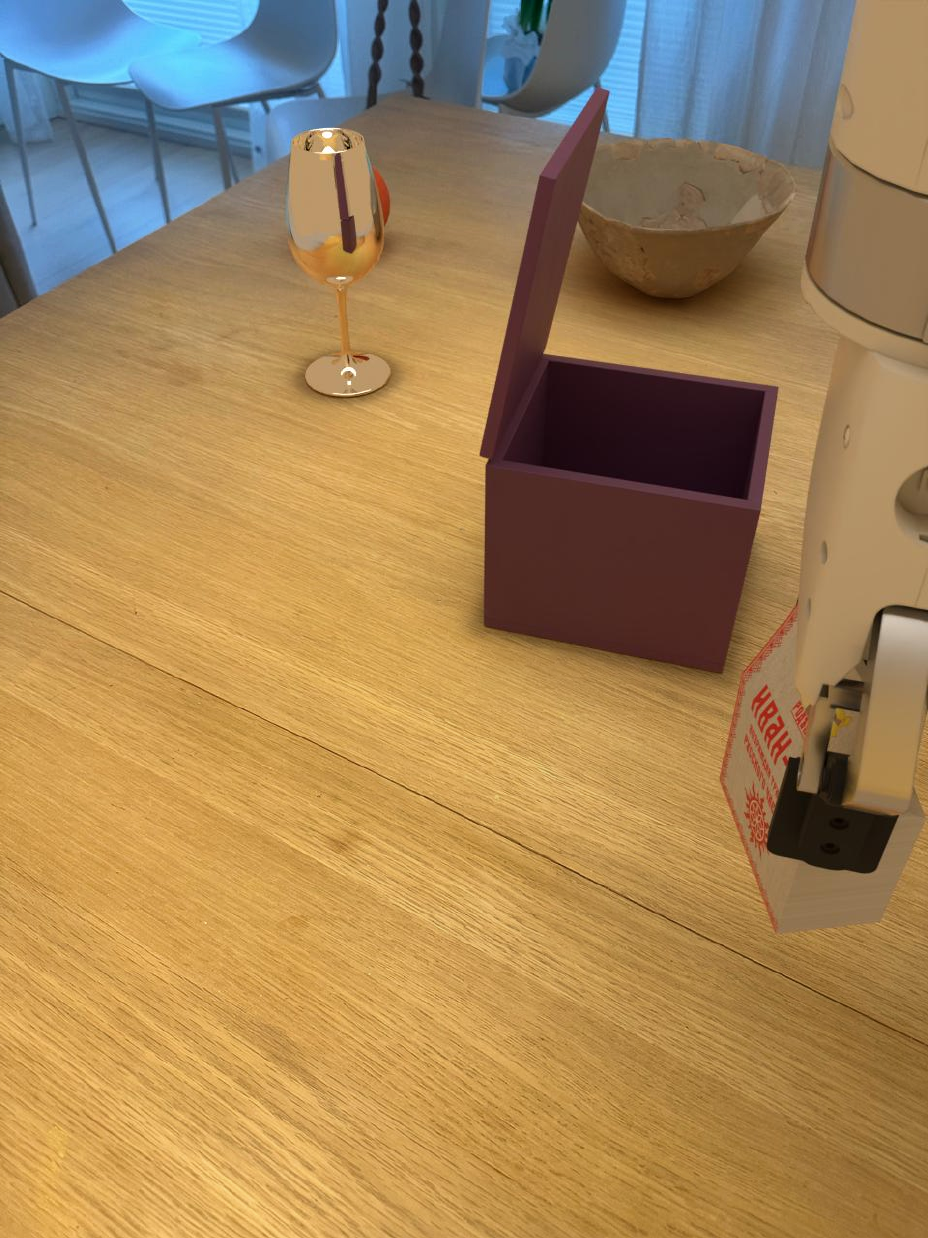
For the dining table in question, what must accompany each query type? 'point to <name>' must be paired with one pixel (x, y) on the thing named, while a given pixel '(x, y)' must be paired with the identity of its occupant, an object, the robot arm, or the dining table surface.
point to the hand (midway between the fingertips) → (824, 751)
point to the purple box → (626, 509)
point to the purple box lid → (543, 266)
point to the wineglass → (336, 241)
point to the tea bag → (752, 783)
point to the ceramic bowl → (679, 211)
